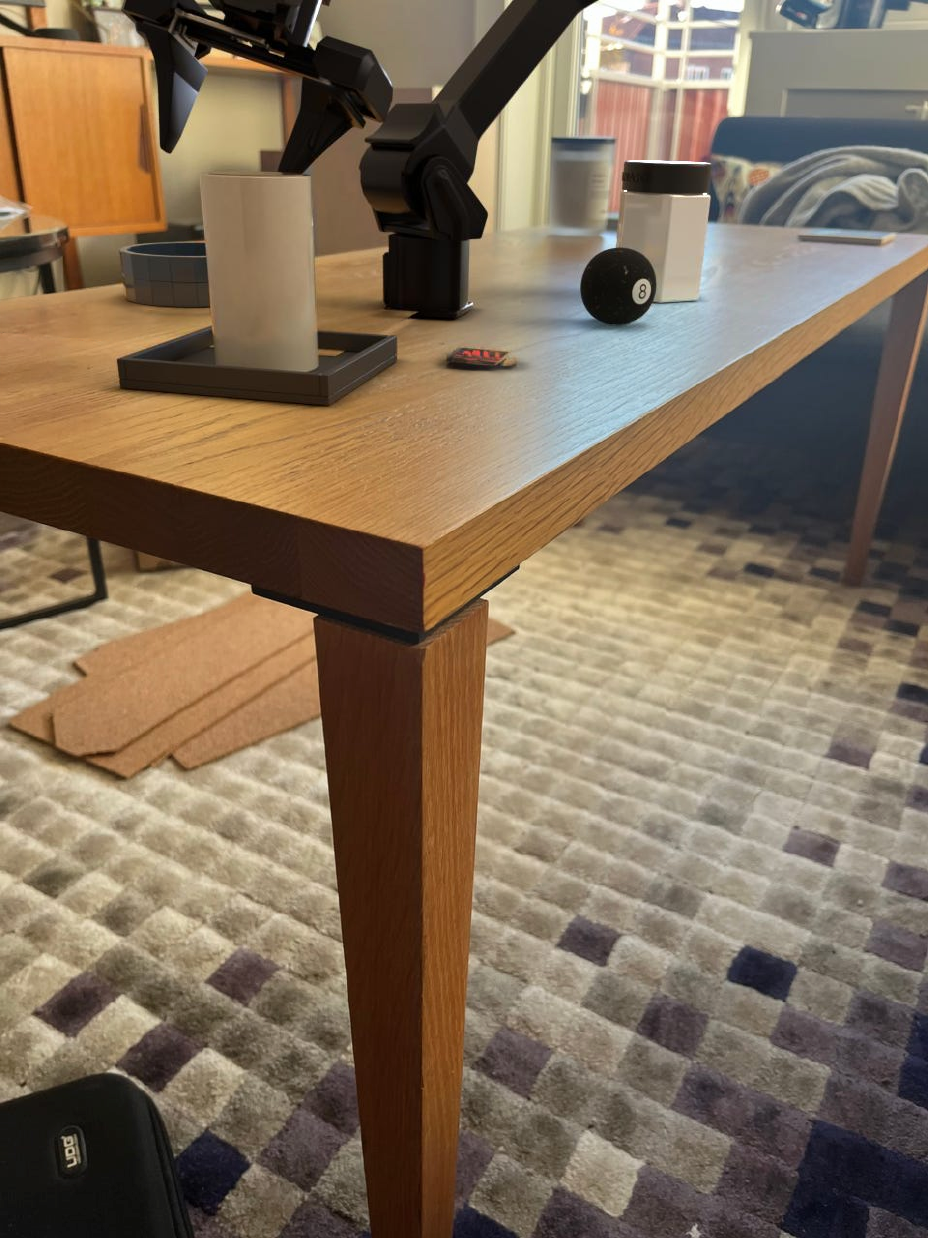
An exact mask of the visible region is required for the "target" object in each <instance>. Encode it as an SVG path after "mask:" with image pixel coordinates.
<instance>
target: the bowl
mask: <svg viewBox="0 0 928 1238" xmlns="http://www.w3.org/2000/svg"><path fill="white" fill-rule="evenodd" d="M118 252H119V260H120V269H121V278H122V286H123V293H124V294H123V295H124V298H125V299H126V300H127V301H129V302H132V303H135V304H138V305H139V304H140V305H145V306H156V307H168V308H169V307H170V308H210V297H209V285H208V274H207V262H206V250H205V241H165V242H147V243H138V244H137V243H136V244H131V245H125V246H123V247H121V248H119V249H118Z"/></svg>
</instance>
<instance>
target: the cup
mask: <svg viewBox="0 0 928 1238" xmlns="http://www.w3.org/2000/svg"><path fill="white" fill-rule="evenodd" d="M198 176H199V177H198V178H199V189H200V200H201V212H202V213H201V214H202V224H203V225H202V226H203V236H204V237H203V238H204V242H205V250H206V262H207V274H208V285H209V297H210V307H209V309H210V320H211V326H212V333H213V347H214V357H215V365H224V366H236V367H249V368H261V369H274V370H287V371H299V372H309V371H312V370H315V369H316V368H318V366H319V355H320V354H319V349H318V330H319V328H318V327H319V326H318V306H317V303H318V302H317V301H318V300H317V279H316V253H315V250H316V249H315V227H314V226H315V225H314V201H313V198H314V197H313V177H312V175H311V174H305V173H303V174H299V173H285V172H277V171H250V170H249V171H245V170H243V171H242V170H241V171H239V170H237V171H236V170H231V171H229V170H227V171H226V170H225V171H224V170H223V171H209V172H208V171H207V172H205V171H204V172H200V173H199V175H198Z"/></svg>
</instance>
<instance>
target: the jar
mask: <svg viewBox="0 0 928 1238" xmlns="http://www.w3.org/2000/svg"><path fill="white" fill-rule="evenodd" d="M712 171H713V164H712V163H710V162H698V161H675V160H674V161H673V160H672V161H671V160H625V161H624V162H623V170H622V173H621V191H620V195H619V208H618V219H617V220H618V221H617V228H616V241H615V242H616V243H615V248H618V247H622V248H629V249H633V250H635V251H638V252H639V253H641V254H642V255H644V256H645V257H646V258H647V259H648V260H649V261H650V263H651V265H652V266H653V269H654V271H655V275H656V283H657V287H656V294H655V297H654V300H653V303H662V304H663V303H676V302H693V301H694V302H695V301H697V300H699V298H700V297H699V296H700V288H701V282H702V281H701V280H702V271H703V263H704V255H705V246H706V245H705V244H706V239H707V232H708V231H707V230H708V222H709V214H710V206H711V199H712V197H711V195H710V194H709V193H710V186H711V176H712Z"/></svg>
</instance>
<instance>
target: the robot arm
mask: <svg viewBox="0 0 928 1238" xmlns="http://www.w3.org/2000/svg"><path fill="white" fill-rule="evenodd" d="M122 1H123V2H122V5H121V8H120V11H121V13H123V14H124V15H125V16H126V17H127V18H128V19H129V20H130V21H131V22H132V23H133V24H134V27H135V28H134V29H135V32H136V33H137V34H138V35H139V36H140V37H141V38H142V39H143V40H145V42H146V43H148V46H149V49H150V52H151V54H152V57H153V58H152V59H153V62H154V67H155V69H154V70H155V74H156V75H155V77H156V85H157V109H158V137H159V138H158V140H159V148H160V149H161V150H162V151H163V152H165V153H166V154H169V155H171V154H172V153H173V151H174V150H175V148H176V147H177V144H178V143H179V141H180V139H181V138H182V135H183V132H184V130H185V128H186V125H187V123H188V121H189V117H190V115H191V113H192V110H193V108H194V106H195V103H196V101H197V98H198V95H199V93H200V92H201V89H202V86H203V84H204V81H205V78H206V76H207V73H208V71H209V70H208V69H207V67H206V66H205V65H204V64H202V62H201V61H200V60H201V59H203V58H205V57H206V56H208V55H210V54H211V51H212V49H215V50H218V51H221V52H224V53H226V54H230V55H233V56H236V57H239V58H242V59H245V60H248V61H251V62H253V63H256V64H260V65H262V66H265V67H269V68H271V69H274V70H278V71H281V72H283V73H287V74H289V75H292V76H295V77H298V78H301V89H300V103H299V104H300V105H299V110H298V113H297V116H296V119H295V122H294V124H293V127H292V129H291V132H290V134H289V136H288V141H287V143H286V146H285V148H284V151H283V153H282V156H281V159H280V162H279V165H278V168H277V171H276V172H285V173H299V174H305V172H306V171H307V170H308V169H309V168H310V167H311V166H312V165H313V164H314V162H316V160H317V159H318V158H319V157H320V156H321V155H322V154H323V153H324V152H325V151H327V149H329V148H330V147H331V146H332V145H333V144H335V143H336V142H337V141H338V140H339V139H341V137H343V136H344V135H345V134H346V133H347V132H349V131H350V130H351V129H353V128H357V129H359V130H363V129H364V128H365V127H366V124H367V121H366V120H365V119H368V120H370V121H373V122H377V123H381V125H380V126H379V128H378V129H376V130H375V131H374V132H373V133H372V134H370V135H368V136H366V137H365V138H364V143H365V144H368V145H369V146H368V147H367V148H366V149H365V151H364V153H363V155H362V156H361V158H360V161H359V165H358V170H359V173H360V174H359V175H360V176H359V183H360V187H361V190H362V194H363V196H364V199H366V201H367V203H368V204H369V205H370V206H371V209H372V213H373V216H374V219H375V222H376V226H377V228H378V232H380V233H391V234H388V245H387V246H388V251H385V252H384V253H383V254H382V302H383V304H384V305H386V306H383V307H382V310H386V311H387V310H389V311H390V310H391V311H402V312H403V311H405V312H415V313H413V314H411V316H413V317H415V316H416V317H430V318H445V319H457V318H459V317H460V316H462V315H464V314H465V313H467V312H469V311H470V310H472V309H473V308H474V302H473V301H469V280H470V279H469V277H470V241H471V240H481V239H482V238H483V235H484V232H485V228H486V224H487V221H488V218H489V212H488V210H487V209H486V207H485V206H484V205H483V203H482V202H481V200H480V199H479V198H478V196H477V194H476V193H475V192H474V191H473V189H472V188H471V187H470V185H469V181H470V180H471V178H472V176H473V174H474V171H475V167H476V160H477V154H478V148H479V142H480V141H481V139H482V137H483V136H484V134H485V133H486V132H487V130H488V129H489V128H490V127H491V126H492V124H493V123H494V122H495V120H496V119H497V118H498V117H499V116H500V114H501V113H502V112H503V110H504V109H505V108H506V107H507V105H508V104H509V103H510V102H511V100H512V99H513V98H514V96H515V95H516V93H517V92H518V91H520V89H521V87H522V86H523V85H524V84H525V82H526V81H527V80H528V79H529V77H530V76H531V75H532V73H533V72H534V71H535V69H536V68H537V67H538V66H539V64H540V63H541V62H542V61H543V59H544V58H545V57H546V56H547V54H548V53H549V52H550V51H551V49H552V48H553V47H554V45H555V44H556V43H557V41H558V40H559V39H560V37H561V36H562V35H563V34H564V32H565V31H566V30H568V27H569V26H570V25H571V23H572V22H573V21H574V20H575V19H576V17H577V16H578V15H579V14H580V13H581V12H582V11H583V10H585V9H587V8H588V7H590V6H592V5H593V4H595V3H597V2H598V1H599V0H511V1H510V3H509V4H508V5H507V6H506V8H505V9H504V11H503V12H502V13H501V14H500V16H498V18H497V19H496V20H495V21H494V23H493V24H492V25H491V27H490V28H489V29H488V30H487V32H486V33H485V34H484V35H483V37H482V38H481V39H480V41H478V43H477V44H476V46H475V47H474V48H473V49H472V50H471V52H470V53H469V54H468V55H467V57H466V58H465V59H464V61H463V62H462V63H461V64H460V66H459V67H458V68H457V69H456V71H455V72H454V73H453V75H451V77H450V78H449V79H448V80H447V82H446V83H445V84H444V86H443V87H442V88H441V89H440V90H439V92H438V93H437V95H436V96H435V97H434V99H433V100H432V101H430V102H408V103H407V102H403V103H402V102H399V103H398V102H397V103H395V104H394V105H393V106H392V108H391V105H392V102H393V98H394V97H393V96H394V87H393V83H392V82H391V79H390V77H389V75H388V74H387V72H386V70H385V69H384V67H383V66H382V63H381V62H380V61H379V59H378V58H377V57H376V55H375V53H374V52H373V50H372V49H369V48H367V47H363V46H360V45H357V44H354V43H351V42H348V41H345V40H343V39H339V38H337V37H336V38H335V37H332V36H329V35H325V36H324V37H322V39H320V40H319V41H318V42H317V43H316V45H315V49H314V48H313V46H312V45H311V44H310V43H309V41H310V37H311V34H312V31H313V28H314V25H315V22H316V19H317V16H318V13H319V10H320V7H321V5H322V6H326V7H330V5H331V2H332V0H207V1H208V3H209V4H210V5H211V6H212V7H213V8H214V9H215V10H217V11H218V12H219V11H220V12H221V13H222V14H223V15H224V17H223V18H219V17H216V16H213V15H212V14H211V15H210V14H208V13H207V12H206V10H204V9H203V7H202V6H201V5H200V4H199V3H198V2H197V1H196V0H122ZM239 40H240V41H241V42H240V41H239ZM242 41H243V42H244V43H243V42H242ZM246 43H249V44H250V45H249V44H246ZM390 108H391V109H390Z"/></svg>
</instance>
